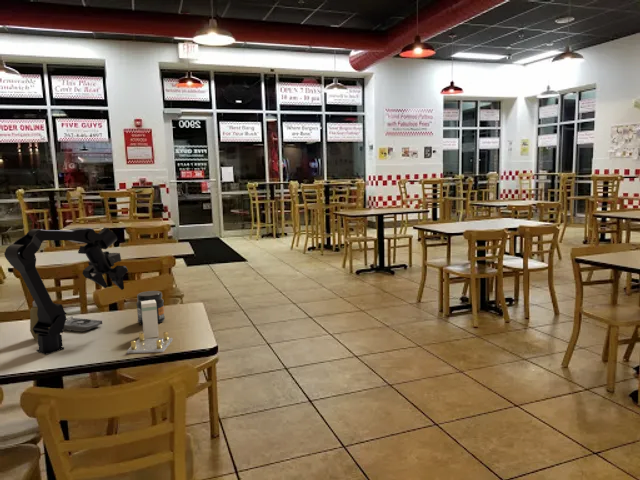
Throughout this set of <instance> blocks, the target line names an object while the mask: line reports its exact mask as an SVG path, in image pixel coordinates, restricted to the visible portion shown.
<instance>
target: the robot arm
mask: <svg viewBox="0 0 640 480" xmlns="http://www.w3.org/2000/svg"><path fill="white" fill-rule="evenodd" d="M44 241H67V242H71V243H76V244H85V245H82V246H81V245H80V246H79V249H78V250H77V254H79V255H80V254H81V255H82V254H83V255H84V254H85V256H86V258H87V259H88V262H87V264H88V266H87V267H85V268H84V269H83V270H82V275H83V276H84V278H87V280H90V281H92V282H94V283H95V284H97V285H99V286H101V287H102V288H104V289H106V288H108V284H107V282H106V279H105V278H104V276H103V275H104V274H105V275H106V274H108V277H109V279H110V281H111V282H112V283H113V284H114V285H115V286H117V288H119V289H120V290H121V291H123V290H124V289H125V284H124V283H125V282H124V276H125V275H126V274H127V273H128V271H129V269H128V267H127V266H126V265H116V266H115V263H119V262H122V257H121V253H120V252H110V251H107V249H109V248H110V247H111V246H112V245H113V244H114V243H115V242H117V241H118V236H117V234H116V233H115V232H114V231H112V230H111V229H110V228H109V227H105V226H104V227H103V228H102V229H101V230H100V231H99V232H96V231H95V230H94V228H92V227H74V228H70V229H66V230H65V229H64V230H61V229H60V230H59V229H56V230H55V229H42V228H40V229H39V228H32V229H30V230H29V231H28V232H27V233H26V234H24V235H23V236H22V237H19V238H18V239H16V240H15V241H14V242H13V243H12V244H9V245H8V246H7V247H6V248H5V251H4V257H5V259H6V260H7V262H8V263H9V264H10V266H12V268H14V269H15V270H16V271H17V272H19V273H20V276H21V277H22V280H23V281H24V283H25V286H26V287H27V289H28V291H29V293H30V295H31V296H32V299H33V301H35V303H36V305H37V307H38V311H37V316H38V319H39V320H38V321H37V323H36V324H35V326H34V327H33V331H34V333H35V334H39V335H37V337H38V340H37V342H38V343H37V344H38V345H37V346H38V349H36V352H37V353H40V354H43V355H49V354H53V353H54V352H55V353H56V352H59V351H61V350H64V349H65V347H64V346H63V336H62V334H63V332H64V331H63V329H64V324H65V321H67V320H66V318H67V316H66V315H67V314H68V312H66V311H65V310H64V306H63V304H60V303H54V302H53V299H52V298H51V295H50V294H49V292H48V290H47V287H46V285H45V283H44V282H43V279H42V277H41V275H40V273H39V271H38V270H37V267H36V266H37V265H36V264H37V256H36V253H37V252H38V251H39V250H40V248H41V246H42V244H43V242H44ZM103 250H106V251H103ZM114 266H115V267H114ZM113 267H114V268H113ZM48 327H50V328H48Z"/></svg>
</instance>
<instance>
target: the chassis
mask: <svg viewBox="0 0 640 480" xmlns="http://www.w3.org/2000/svg"><path fill="white" fill-rule="evenodd" d="M138 334H139V335H138V336H139V337H138V338H137V340H131V341H130V347H129V348H128V349H127V350H126V354H147V353H164V351H165V350H166V349H167V348H168V347H169V345H170V344H171V343H172V342H173V337H169V332H168V331H164V332H163V333H162V335H163V337H154V338H147V339H144V333H143V332H140V333H138Z"/></svg>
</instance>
